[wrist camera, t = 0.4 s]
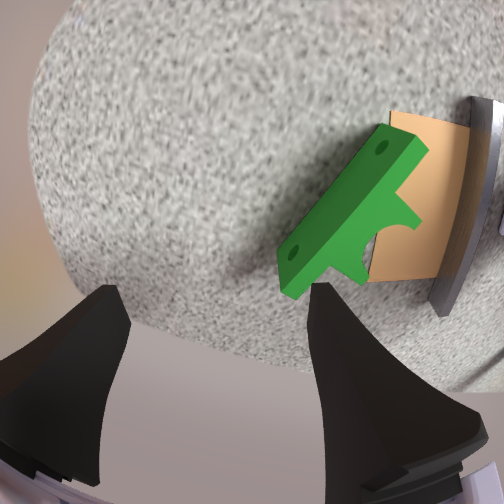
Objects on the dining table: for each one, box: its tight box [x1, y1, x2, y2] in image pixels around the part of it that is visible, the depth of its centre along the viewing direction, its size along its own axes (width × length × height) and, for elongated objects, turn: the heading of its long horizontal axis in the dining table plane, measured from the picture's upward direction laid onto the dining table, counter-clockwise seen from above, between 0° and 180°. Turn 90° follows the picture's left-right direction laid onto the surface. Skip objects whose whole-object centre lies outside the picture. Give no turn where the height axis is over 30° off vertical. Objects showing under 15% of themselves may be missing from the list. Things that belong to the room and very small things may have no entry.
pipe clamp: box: [277, 123, 429, 300], centre depth 16 cm, size 11×4×5 cm, turn 146°
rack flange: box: [367, 96, 504, 317], centre depth 16 cm, size 10×18×2 cm, turn 2°
